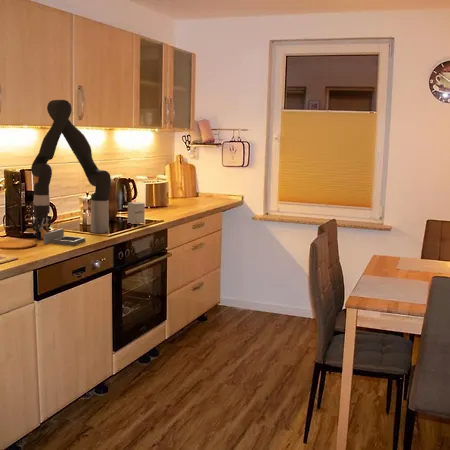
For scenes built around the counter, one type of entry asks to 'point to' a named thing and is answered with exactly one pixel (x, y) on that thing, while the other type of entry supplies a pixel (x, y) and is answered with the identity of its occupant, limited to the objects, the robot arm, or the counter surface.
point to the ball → (42, 233)
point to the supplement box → (136, 212)
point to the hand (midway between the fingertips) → (41, 237)
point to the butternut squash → (112, 201)
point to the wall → (52, 235)
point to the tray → (68, 240)
